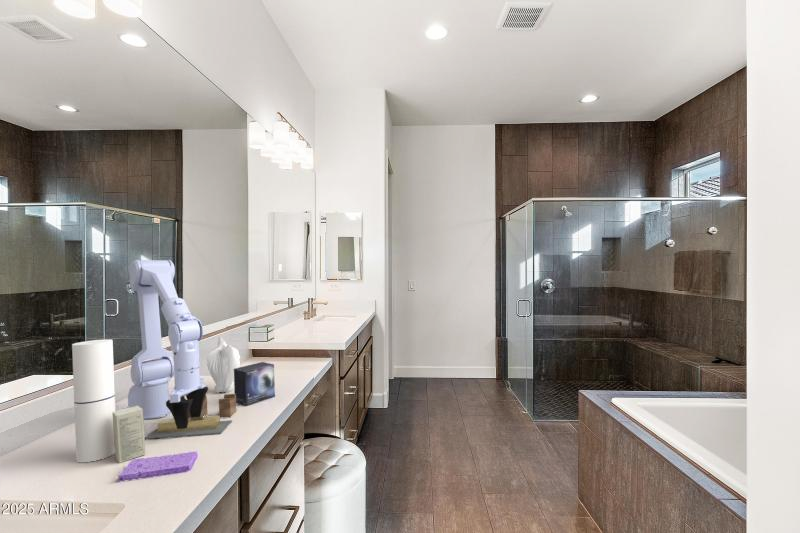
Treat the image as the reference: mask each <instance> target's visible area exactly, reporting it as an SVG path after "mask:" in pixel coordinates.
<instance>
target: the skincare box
mask: <svg viewBox="0 0 800 533" xmlns="http://www.w3.org/2000/svg"><path fill="white" fill-rule="evenodd" d="M112 415H113V430H114V444H115V454H114V457H116V458H115V460H116V462H117V463H118V464H120V463H124V462H126V461H127V462H128V461H130V460H133V459H137V458H139V457H142V456H144V455H145V456H146V452H147V451H146V440H145V438H144V437H145V426H144V424H145V423H144V419H143V409H142V408H141V407H139V406H134V407H130V408H128V407H127V408H123V409H118V410H115V412H112Z"/></svg>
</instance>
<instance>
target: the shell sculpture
mask: <svg viewBox="0 0 800 533" xmlns="http://www.w3.org/2000/svg"><path fill="white" fill-rule="evenodd" d="M240 359H241V355H240V354H239V350H238V349H237V348H236V347H233V346H232V345H231V344H230V343H228V344H227V343H226V341H225V340H223V337H222V336H220V337H218V341H217V347H216V349H214V350H211V351H210V352H209V354H208V355H207V359H206V361H207V362H206V364H207V365H206V367H207V370H208V372H209V375H210V377H211V378H212V380H213V381H214V383H215V386H214V392H215V393H216V392H217V393H216V394H220V393H219V392H223V393H224V392H227V393H229V392H231V391H232V390H233V389H234V369H235V368H239V367H240V365H241V363H240ZM230 390H231V391H230Z"/></svg>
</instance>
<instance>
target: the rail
mask: <svg viewBox="0 0 800 533" xmlns="http://www.w3.org/2000/svg"><path fill="white" fill-rule="evenodd" d="M220 421H221V418H220V415H219V414H218V415H205V416H204V417H191V418H189V420H188V426H187V428H186V429H177V426H176V423H175V420H174V418H169V419H168V418H165V419H161V420H160V421H159V422H157V428H158V433H167V432H180V431H193V430H206V429H216V428H217V427H218V426H219V425H220Z"/></svg>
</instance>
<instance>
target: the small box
mask: <svg viewBox="0 0 800 533" xmlns="http://www.w3.org/2000/svg"><path fill="white" fill-rule="evenodd" d="M233 389H234V391H233V392H234V393H233V394H236V404H237V403H238V404H237V405H240V404H241V406H244V407H247V406H251V405H254V404H257V403H260V402H263V401H265V400H269V399H272V398H275V397H276V387H275V364H274V363H270V362H269V363H268V362H265V361H264V362H263V361H261V362H257V363H252V364H249V365H245V366H239V368H235V369H234V381H233Z"/></svg>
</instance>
